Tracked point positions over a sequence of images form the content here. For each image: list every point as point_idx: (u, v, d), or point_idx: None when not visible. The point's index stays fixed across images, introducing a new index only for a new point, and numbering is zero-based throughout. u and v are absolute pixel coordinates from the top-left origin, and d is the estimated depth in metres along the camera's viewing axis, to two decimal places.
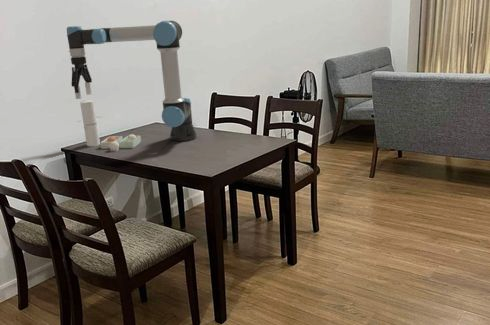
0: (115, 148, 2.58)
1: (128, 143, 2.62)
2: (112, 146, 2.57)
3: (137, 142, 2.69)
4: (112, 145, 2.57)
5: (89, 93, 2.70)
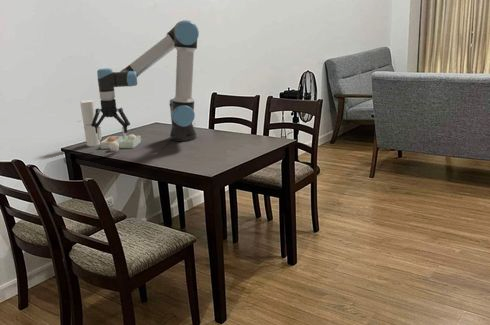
0: (115, 148, 2.58)
1: (128, 143, 2.62)
2: (112, 146, 2.57)
3: (137, 142, 2.69)
4: (112, 145, 2.57)
5: None
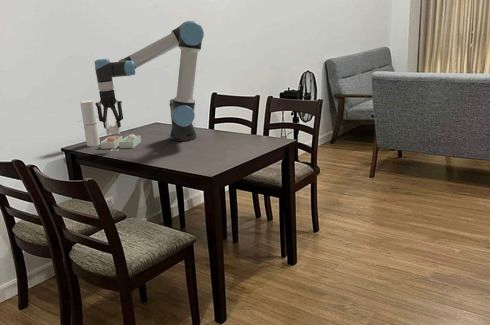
0: (114, 131, 2.55)
1: (128, 143, 2.62)
2: (111, 129, 2.54)
3: (137, 142, 2.69)
4: (110, 128, 2.54)
5: None
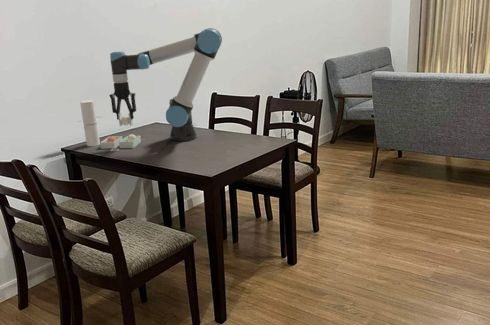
0: (126, 122, 2.61)
1: (128, 143, 2.62)
2: (124, 120, 2.60)
3: (137, 142, 2.69)
4: (124, 119, 2.60)
5: None
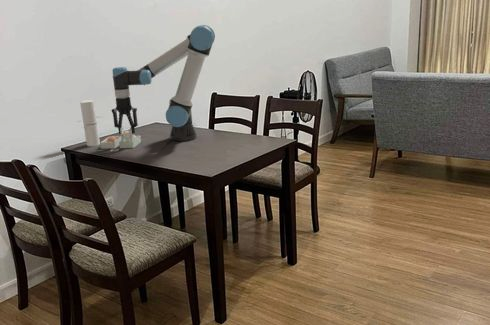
0: (128, 137, 2.63)
1: (128, 143, 2.62)
2: (125, 135, 2.62)
3: (137, 142, 2.69)
4: (125, 134, 2.62)
5: None
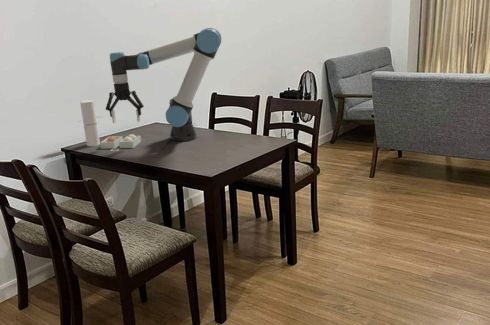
0: None
1: (128, 143, 2.62)
2: (126, 141, 2.63)
3: (137, 142, 2.69)
4: (126, 141, 2.63)
5: None
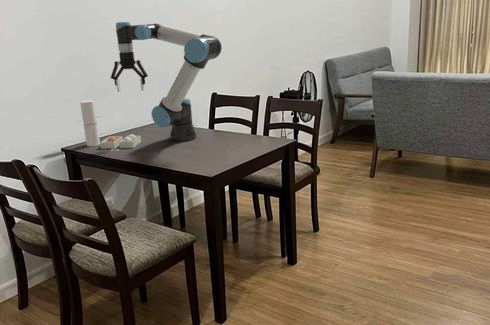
0: None
1: (128, 143, 2.62)
2: None
3: (137, 142, 2.69)
4: (125, 141, 2.64)
5: None
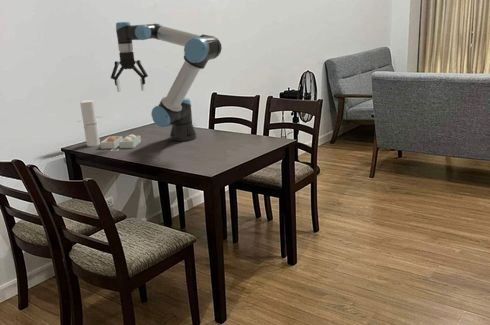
0: None
1: (128, 143, 2.62)
2: None
3: (137, 142, 2.69)
4: (125, 141, 2.63)
5: None
